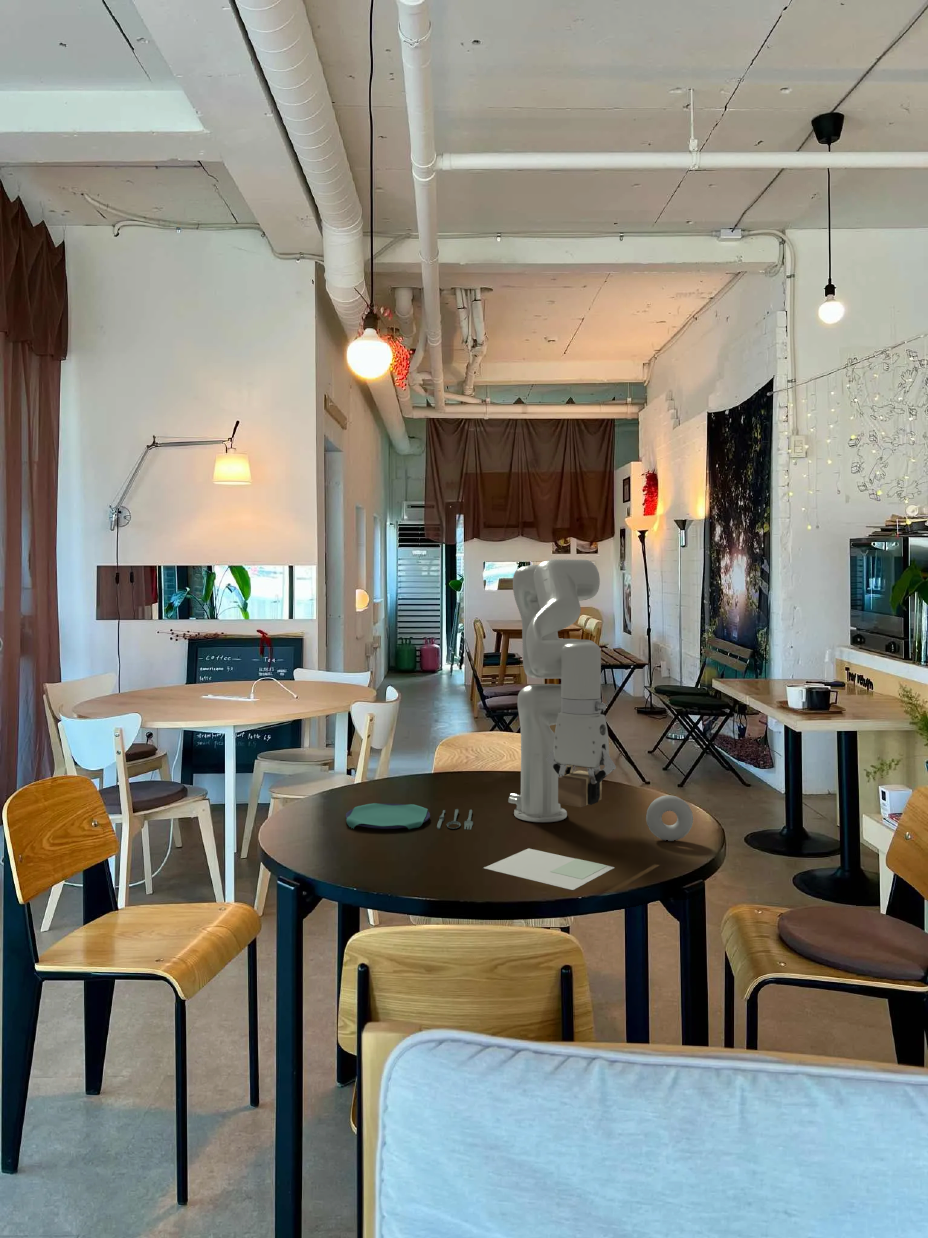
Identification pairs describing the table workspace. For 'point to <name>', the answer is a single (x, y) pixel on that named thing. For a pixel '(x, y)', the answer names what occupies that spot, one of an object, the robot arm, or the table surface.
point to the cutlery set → (396, 816)
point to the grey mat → (550, 868)
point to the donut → (669, 831)
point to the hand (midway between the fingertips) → (580, 800)
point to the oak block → (574, 789)
